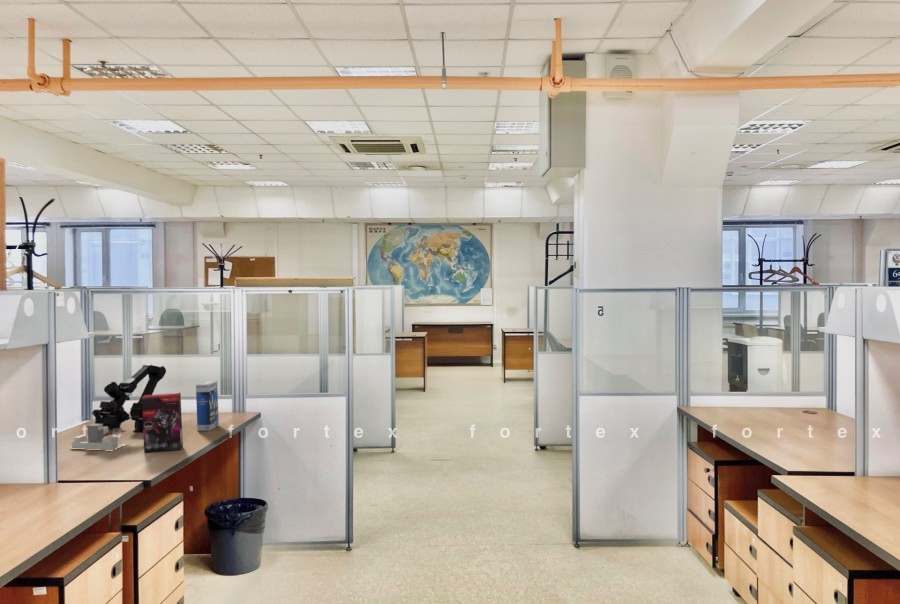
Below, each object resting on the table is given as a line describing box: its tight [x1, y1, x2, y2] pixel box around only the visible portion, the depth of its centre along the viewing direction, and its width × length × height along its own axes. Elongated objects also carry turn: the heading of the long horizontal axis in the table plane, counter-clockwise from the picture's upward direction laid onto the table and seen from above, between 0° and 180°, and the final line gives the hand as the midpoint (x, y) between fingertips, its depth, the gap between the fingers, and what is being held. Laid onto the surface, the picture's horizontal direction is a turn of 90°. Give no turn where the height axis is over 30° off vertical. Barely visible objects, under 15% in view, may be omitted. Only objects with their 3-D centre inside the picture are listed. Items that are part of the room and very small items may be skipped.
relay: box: [103, 427, 109, 435], centre depth 334 cm, size 6×4×4 cm
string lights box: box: [195, 380, 220, 432], centre depth 344 cm, size 13×8×26 cm, turn 0°
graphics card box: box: [142, 392, 184, 453], centre depth 301 cm, size 17×7×27 cm, turn 105°
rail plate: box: [71, 434, 129, 451], centre depth 308 cm, size 12×24×5 cm, turn 77°
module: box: [87, 423, 105, 443], centre depth 308 cm, size 4×6×11 cm
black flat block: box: [100, 407, 125, 429], centre depth 347 cm, size 4×13×15 cm, turn 108°
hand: (102, 429), depth 313 cm, fingers open, 9 cm apart
